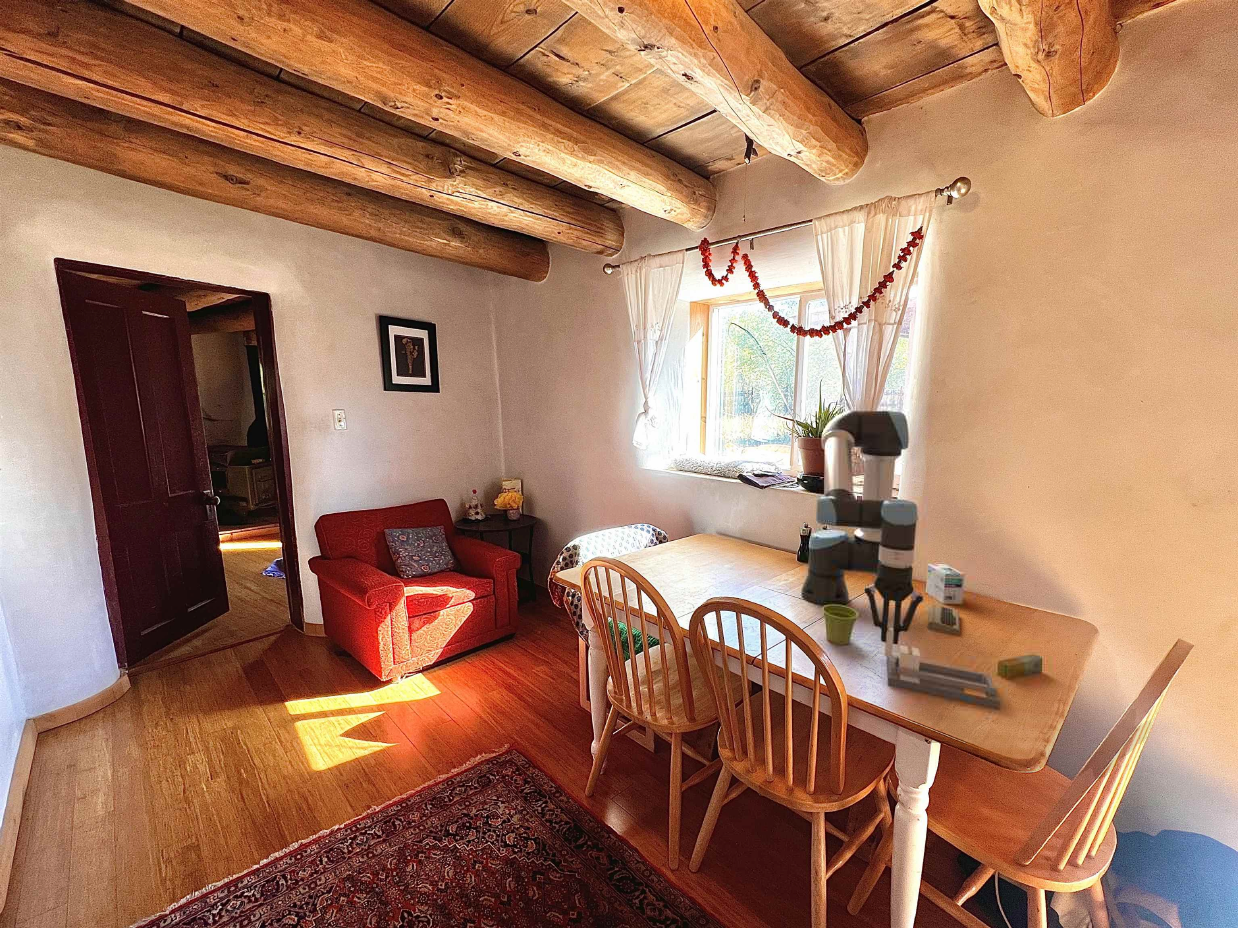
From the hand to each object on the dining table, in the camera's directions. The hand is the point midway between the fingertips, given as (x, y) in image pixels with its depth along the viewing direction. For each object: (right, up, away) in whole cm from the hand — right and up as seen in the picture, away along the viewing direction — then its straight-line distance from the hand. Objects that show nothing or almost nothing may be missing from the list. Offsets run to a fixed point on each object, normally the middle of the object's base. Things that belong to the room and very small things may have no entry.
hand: (888, 654), depth 128 cm
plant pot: (-5, -3, +18) cm, 19 cm away
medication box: (+34, -6, +1) cm, 34 cm away
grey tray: (+10, -6, -4) cm, 12 cm away
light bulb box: (+45, +1, +50) cm, 67 cm away
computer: (+33, -2, +30) cm, 45 cm away
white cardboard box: (+4, -3, -2) cm, 5 cm away
